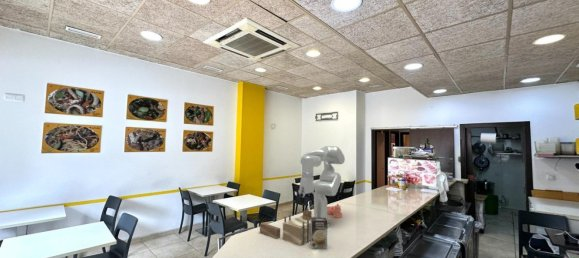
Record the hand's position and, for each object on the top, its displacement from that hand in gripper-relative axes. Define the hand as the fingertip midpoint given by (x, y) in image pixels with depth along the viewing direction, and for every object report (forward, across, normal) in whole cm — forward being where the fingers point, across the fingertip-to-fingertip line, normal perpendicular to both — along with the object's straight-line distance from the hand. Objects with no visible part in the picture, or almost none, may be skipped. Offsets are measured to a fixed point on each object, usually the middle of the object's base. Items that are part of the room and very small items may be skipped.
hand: (307, 202), depth 156 cm
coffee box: (+22, +9, +15) cm, 28 cm away
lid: (+12, +5, 0) cm, 13 cm away
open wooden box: (+21, +5, 0) cm, 22 cm away
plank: (+22, +16, -18) cm, 32 cm away
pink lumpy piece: (+21, -52, -10) cm, 57 cm away
